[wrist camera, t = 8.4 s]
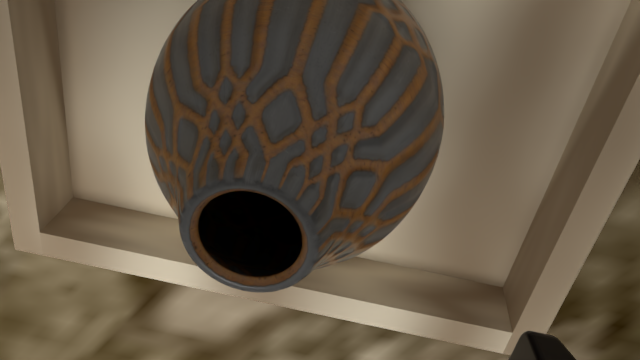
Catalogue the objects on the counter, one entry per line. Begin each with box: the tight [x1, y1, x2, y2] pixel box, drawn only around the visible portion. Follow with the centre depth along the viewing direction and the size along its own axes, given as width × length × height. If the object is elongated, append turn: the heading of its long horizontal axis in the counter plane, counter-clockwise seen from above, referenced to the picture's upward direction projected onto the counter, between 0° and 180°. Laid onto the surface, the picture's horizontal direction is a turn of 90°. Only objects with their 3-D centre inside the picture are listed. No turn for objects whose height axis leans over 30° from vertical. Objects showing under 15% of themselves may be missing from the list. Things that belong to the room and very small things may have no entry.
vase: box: [145, 0, 444, 293], centre depth 13 cm, size 7×7×9 cm
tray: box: [0, 0, 640, 355], centre depth 16 cm, size 18×16×3 cm
